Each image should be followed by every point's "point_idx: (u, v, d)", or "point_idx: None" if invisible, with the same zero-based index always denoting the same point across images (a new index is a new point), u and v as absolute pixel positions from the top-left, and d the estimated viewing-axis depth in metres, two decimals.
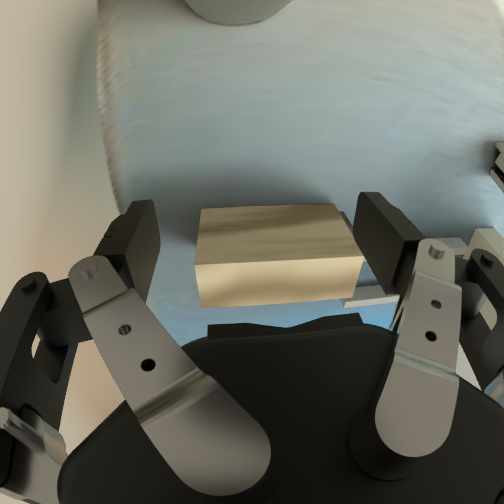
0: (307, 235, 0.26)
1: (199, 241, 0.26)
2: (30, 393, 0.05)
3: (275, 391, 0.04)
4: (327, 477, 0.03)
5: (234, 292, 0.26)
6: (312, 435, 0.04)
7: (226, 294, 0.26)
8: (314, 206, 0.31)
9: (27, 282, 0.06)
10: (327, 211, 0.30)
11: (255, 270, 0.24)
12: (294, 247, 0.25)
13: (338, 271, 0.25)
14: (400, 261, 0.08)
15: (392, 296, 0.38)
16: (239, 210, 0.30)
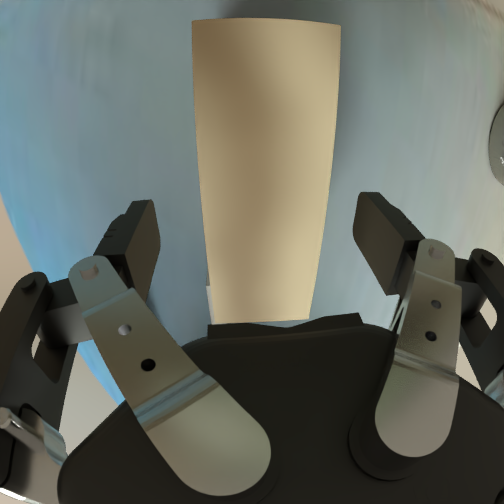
0: None
1: None
2: (30, 393, 0.05)
3: (275, 392, 0.04)
4: (327, 477, 0.03)
5: (244, 99, 0.09)
6: (311, 435, 0.04)
7: (238, 80, 0.09)
8: None
9: (27, 282, 0.06)
10: None
11: (312, 147, 0.10)
12: None
13: (283, 292, 0.15)
14: (400, 261, 0.08)
15: None
16: None
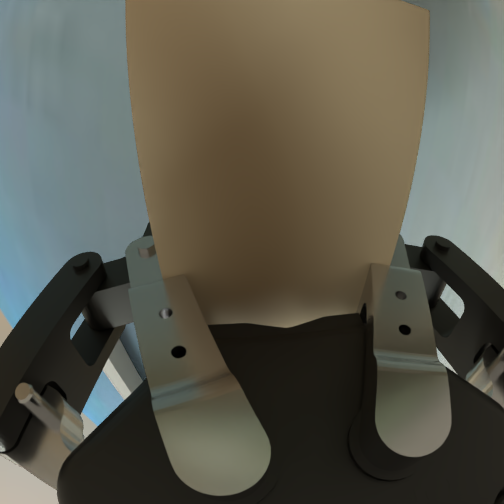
0: None
1: None
2: (59, 372, 0.05)
3: (275, 391, 0.04)
4: (327, 477, 0.03)
5: (241, 154, 0.05)
6: (311, 435, 0.04)
7: (227, 113, 0.04)
8: None
9: (80, 261, 0.07)
10: None
11: (364, 239, 0.06)
12: None
13: None
14: None
15: None
16: None
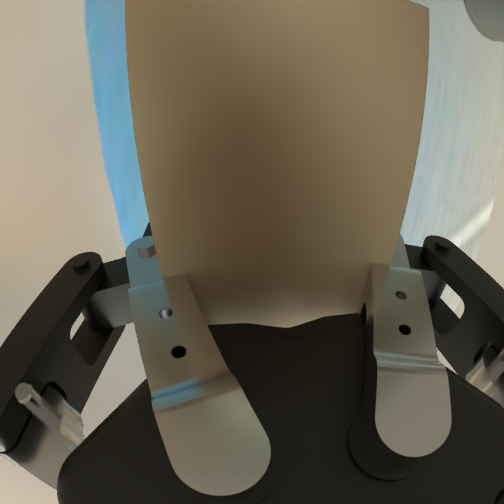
0: None
1: None
2: (59, 372, 0.05)
3: (274, 392, 0.04)
4: (327, 477, 0.03)
5: (241, 152, 0.05)
6: (311, 435, 0.04)
7: (227, 110, 0.04)
8: None
9: (80, 261, 0.07)
10: None
11: (365, 236, 0.06)
12: None
13: None
14: None
15: None
16: None
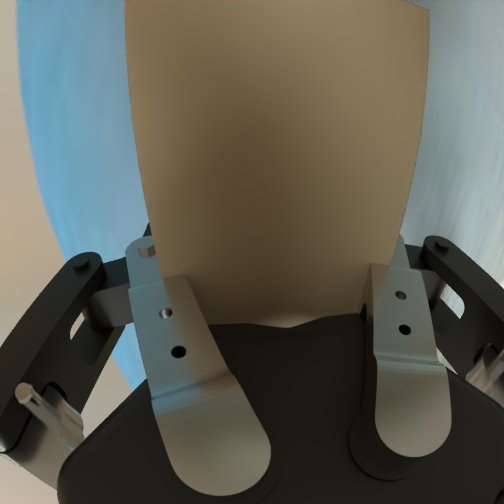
0: None
1: None
2: (59, 372, 0.05)
3: (275, 392, 0.04)
4: (327, 477, 0.03)
5: (240, 154, 0.05)
6: (311, 434, 0.04)
7: (227, 112, 0.04)
8: None
9: (80, 261, 0.07)
10: None
11: (364, 238, 0.06)
12: None
13: None
14: None
15: None
16: None
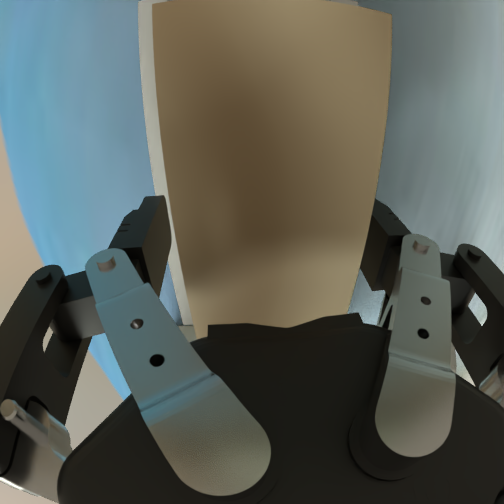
0: None
1: None
2: (38, 386, 0.05)
3: (275, 392, 0.04)
4: (327, 477, 0.03)
5: (241, 131, 0.06)
6: (311, 435, 0.04)
7: (231, 100, 0.05)
8: None
9: (42, 275, 0.06)
10: None
11: (344, 202, 0.07)
12: None
13: None
14: (385, 256, 0.09)
15: None
16: None
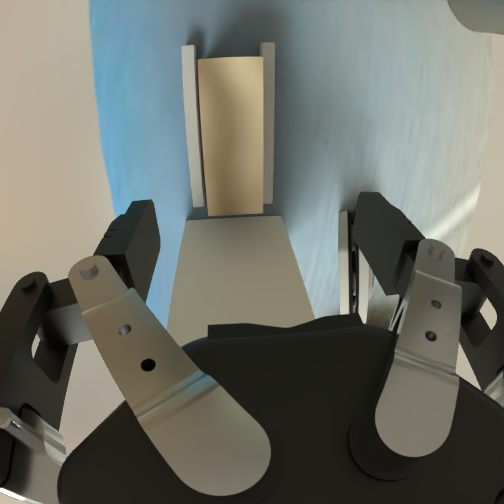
0: None
1: None
2: (30, 393, 0.05)
3: (275, 392, 0.04)
4: (327, 477, 0.03)
5: (221, 93, 0.21)
6: (311, 435, 0.04)
7: (218, 85, 0.21)
8: None
9: (27, 282, 0.06)
10: None
11: (253, 113, 0.22)
12: None
13: (246, 192, 0.26)
14: (400, 261, 0.08)
15: (196, 112, 0.27)
16: None
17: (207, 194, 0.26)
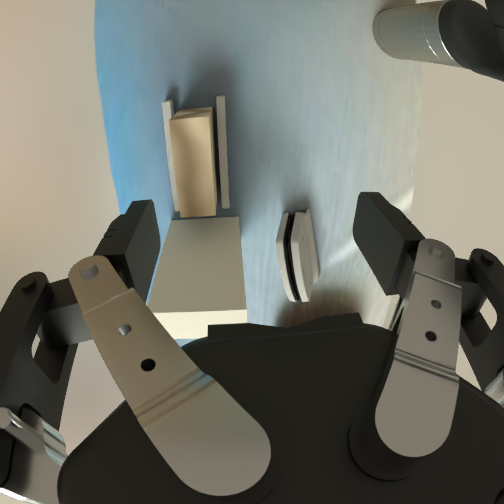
0: (214, 178, 0.42)
1: (210, 114, 0.36)
2: (30, 393, 0.05)
3: (275, 392, 0.04)
4: (327, 477, 0.03)
5: (184, 141, 0.35)
6: (311, 434, 0.04)
7: (182, 136, 0.35)
8: (216, 177, 0.47)
9: (27, 282, 0.06)
10: (216, 186, 0.47)
11: (204, 153, 0.36)
12: (213, 172, 0.40)
13: (203, 202, 0.41)
14: (400, 261, 0.08)
15: None
16: (213, 132, 0.43)
17: (179, 204, 0.40)
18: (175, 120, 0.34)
